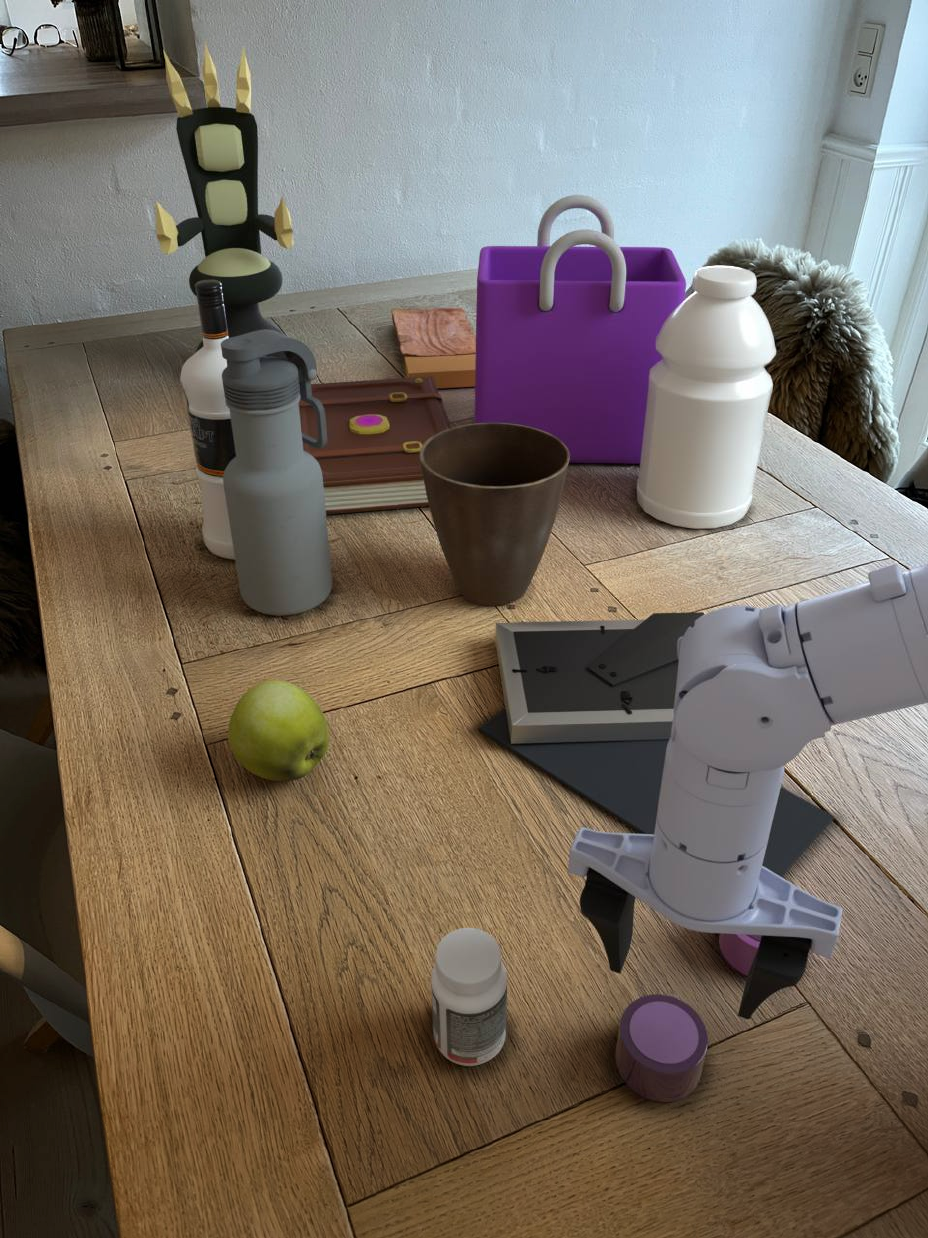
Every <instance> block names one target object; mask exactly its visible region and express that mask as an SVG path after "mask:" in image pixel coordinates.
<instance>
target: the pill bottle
mask: <svg viewBox="0 0 928 1238" xmlns="http://www.w3.org/2000/svg"><path fill="white" fill-rule="evenodd" d="M434 955H435V956H434V957H435V958H434V959H435V961H434V966H433V967H432V970H431V971H432V972H431V976H430V988H431V990H430V991H431V1005H432V1006H431V1008H432V1009H431V1010H432V1011H431V1012H432V1029H433V1030H432V1031H433V1039H434V1043H435V1046H436V1048H437V1049H438V1050H439V1052H440V1053H441V1054H442V1055H443V1057H445V1058H446V1059H447V1060H449V1061H450V1062H452V1063H454V1064H455V1065H460V1066H465V1067H473V1066H475V1067H476V1066H479V1065H482V1064H485V1063H487V1062H489V1061H490V1060H492V1059H493V1058H494V1057H496V1056H497V1055H498V1054H499V1053H500V1051H501V1050H502V1048H503V1046H504V1044H505V1041H506V1037H507V1011H508V1010H507V1008H508V1002H507V1001H508V974H507V971H506V966H505V965H504V962H503V961H502V952H501V947H500V945H499V943H498V942H497V940H496V938H494V937H493V936H492V935H491V934H490V933H488V932H487V931H485V930H482V929H479V928H476V927H462V928H461V927H460V928H458V929H454V930H452V931H450V932H448V933H447V934H445V936H443V937H442V938H441V939H440V941H439V943H438V944H437V947H436V950H435V954H434Z"/></svg>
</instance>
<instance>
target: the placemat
mask: <svg viewBox="0 0 928 1238" xmlns="http://www.w3.org/2000/svg"><path fill="white" fill-rule="evenodd" d="M478 731H479V732H481V733H482V734H483V735H485V736H487V737H488V738H489V739H492V740H493V741H495V742H497V743H498V744H500V745H501V746H502V747H504V748H505V749H508V750H509V751H510V752H512V753H514V754H515V755H517V756H518V757H520V758H522V759H523V760H524V761H526V762H527V763H529V764H531V765H532V766H534V767H536V768H537V769H539V770H540V771H542V772H543V773H545V774H546V775H548V776H550V777H551V778H553V779H555V780H556V781H558V782H559V783H561V784H562V785H564V786H565V787H567V788H568V789H570V790H572V791H573V792H575V793H576V794H578V795H580V796H581V797H583V798H584V799H586V800H588V801H589V802H591V803H592V804H594V805H595V806H597V807H598V808H599V809H602V810H603V811H605V812H606V813H608V814H609V815H611V816H612V817H614V818H615V819H617V820H619V821H620V822H622V823H624V824H625V825H627V826H628V827H630V828H631V829H633V830H635V831H636V832H638V834H654V832H655V825H656V818H657V811H658V803H659V796H660V789H661V782H662V775H663V769H664V762H665V755H666V748H667V744H668V742H669V739H662V740H627V741H592V742H557V743H522V744H511V740H510V733H509V727H508V720H507V714H506V708H504V709H503V710H501V711H500V712H499V713H497V714H495V715H494V716H493V717H491V718H490V719H489V720H487V721H486V722H485V723H483V724H481V725H479V727H478ZM834 819H835V816H834V815H833V814H831V813H829V812H828V811H825V810H824V809H822V808H820V807H818V806H817V805H815V804H812V803H811V802H809V801H807V800H806V799H803V798H801V797H800V796H798V795H796V794H795V793H792V792H791V791H789V790H787V789H786V788H783V787H782V786H781V788H780V792H779V796H778V800H777V805H776V809H775V813H774V817H773V821H772V825H771V829H770V834H769V839H768V843H767V847H766V851H765V855H764V859H763V864H762V866H764V867H765V868H767V869H769V870H770V871H772V872H774V873H775V874H777V875H778V876H780V877H782V878H783V876H784V875H785V874H786V873H788V871H789V869H790V868H791V867H792V866H793V865H794V864H795V863H796V862H797V861H798V859H799V858H800V857H802V855H803V854H804V853H805V852H806V851H807V850H808V849H809V847H810V846H812V844H813V843H814V842H815V841H816V840H817V839H818V837H819V836H820V835H821V834H823V832H824V831H825V829H826V828H827V827H828V826H829V825H830V824H831V823H832V822H833V821H834Z"/></svg>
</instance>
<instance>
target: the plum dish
mask: <svg viewBox="0 0 928 1238" xmlns="http://www.w3.org/2000/svg"><path fill="white" fill-rule="evenodd" d="M761 936H762V935H746V934H725V933H719V937H718V945H719V949H720V952H721V954H722V956H723V958H724V959H725V961H726V962H727V963H728V964H729V966H731V967H732V968H733V969H734V970H736V971H737V972H739V973H740V974H742V975H744V976H746V977H747V976H748V973H749V970H750V968H751V965H752V963H753V960H754V957H755V955H756V952H757V950H758V947H759V944H760V940H761Z"/></svg>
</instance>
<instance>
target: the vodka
mask: <svg viewBox="0 0 928 1238" xmlns="http://www.w3.org/2000/svg"><path fill="white" fill-rule="evenodd" d="M221 286H222V284H221V282H219V281H217V280H202V281H199V282H197V283H196V284H195V288H196V294H197V297H196V301H197V305H198V313H199V320H200V327H201V333H202V334H201V335H202V340H203V344H204V346H203V347H202V348H201V349H200V350H199V351H197V352H196V351H195V352H196V353H195V352H194V354H192V355H191V356H189V358H188V359H187V360H185V362H184V363H183V365H182V367H181V372H180V377H179V380H180V383H181V385H182V388H183V394H184V399H185V406H186V411H187V418H188V422H189V428H190V429H189V430H190V435H191V440H192V447H193V452H194V458H195V459H194V460H195V464H196V466H195V473H196V475H197V477H198V483H199V487H200V494H201V495H200V496H201V506H202V519H203V523H202V527H201V532H202V540H203V543H204V545H205V546H206V547H207V550H208V551H209V552H210V553H212V554H213V555H216V556H217V557H220V558H224V559H228V560H232V561H233V560H234V561H235V555H234V549H233V542H232V536H231V530H230V523H229V517H228V511H227V504H226V498H225V491H224V485H223V475H224V471H225V469H226V467H227V466H228V464H229V463H230V462H231V461H232V460H233V459H234V458H235V457H236V451H235V445H234V438H233V431H232V424H231V417H230V410H229V408H228V407H227V406H226V402H225V400H226V399H225V395H224V388H223V381H222V372H223V370H224V369H225V368H226V367H227V360H226V359H224V358H223V356H222V350H221V342H222V341H223V340H225V339H228V338H229V337H228V329H227V322H226V315H225V308H224V304H223V303H224V300H223V293H222V287H221Z"/></svg>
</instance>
